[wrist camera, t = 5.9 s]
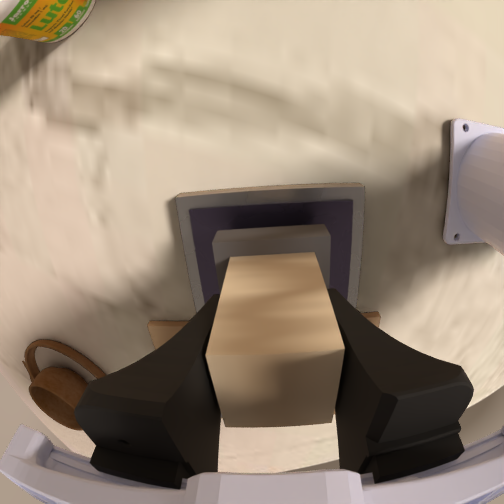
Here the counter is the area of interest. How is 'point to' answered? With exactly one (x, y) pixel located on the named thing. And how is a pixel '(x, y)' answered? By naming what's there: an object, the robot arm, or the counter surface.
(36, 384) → the place setting
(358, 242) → the ink pad
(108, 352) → the counter surface
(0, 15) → the supplement bottle
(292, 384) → the stamp
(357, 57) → the counter surface
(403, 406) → the robot arm
